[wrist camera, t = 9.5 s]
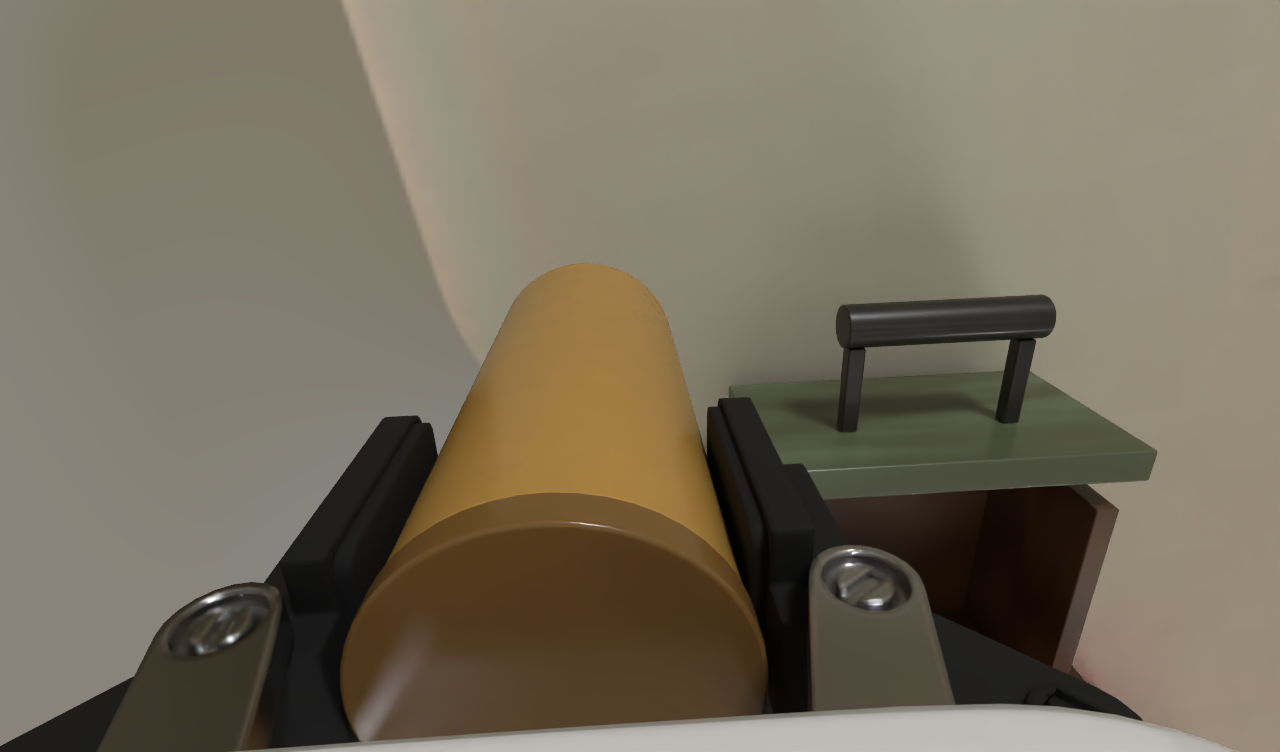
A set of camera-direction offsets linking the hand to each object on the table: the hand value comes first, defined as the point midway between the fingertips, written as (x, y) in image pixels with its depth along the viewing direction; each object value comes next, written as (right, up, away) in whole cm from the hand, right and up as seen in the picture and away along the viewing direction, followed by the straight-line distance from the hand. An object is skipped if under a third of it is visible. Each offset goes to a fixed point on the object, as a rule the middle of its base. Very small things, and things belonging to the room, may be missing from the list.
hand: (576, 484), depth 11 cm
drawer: (+12, -2, +18) cm, 21 cm away
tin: (0, +3, +7) cm, 7 cm away
